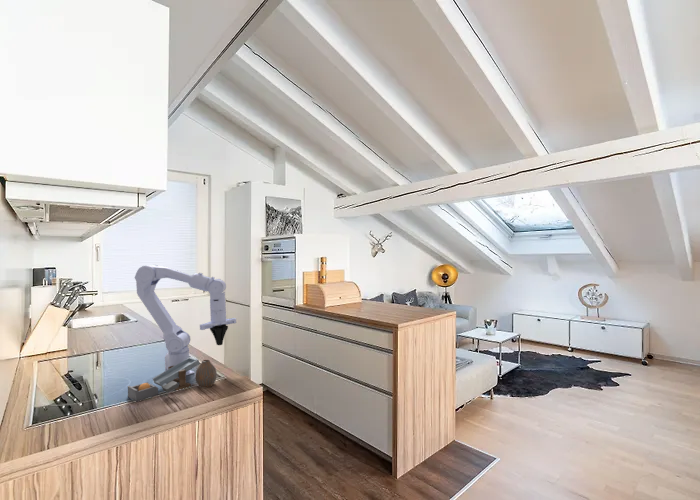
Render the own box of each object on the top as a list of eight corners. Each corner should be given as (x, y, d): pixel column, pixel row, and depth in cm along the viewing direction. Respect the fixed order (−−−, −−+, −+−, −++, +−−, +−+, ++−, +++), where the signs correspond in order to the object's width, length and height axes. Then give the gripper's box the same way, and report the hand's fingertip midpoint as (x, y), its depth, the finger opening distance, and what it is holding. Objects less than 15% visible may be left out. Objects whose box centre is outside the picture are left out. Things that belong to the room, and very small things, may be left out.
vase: (212, 389, 121) (211, 363, 121) (192, 389, 122) (191, 363, 122) (220, 381, 128) (219, 357, 128) (201, 382, 128) (200, 357, 129)
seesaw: (150, 385, 122) (148, 380, 121) (191, 361, 133) (190, 356, 133) (168, 394, 113) (166, 388, 113) (211, 367, 125) (209, 362, 124)
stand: (163, 384, 127) (163, 367, 127) (177, 380, 131) (177, 363, 131) (176, 390, 121) (176, 373, 121) (191, 386, 125) (190, 369, 125)
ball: (149, 383, 121) (144, 394, 119) (140, 380, 118) (134, 391, 117) (154, 385, 118) (148, 396, 117) (144, 382, 116) (138, 393, 115)
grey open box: (128, 396, 117) (127, 386, 117) (149, 390, 122) (149, 380, 122) (136, 401, 113) (135, 390, 113) (158, 394, 118) (158, 384, 118)
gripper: (206, 314, 132) (207, 350, 132) (240, 308, 143) (241, 341, 143) (196, 312, 136) (197, 348, 136) (230, 306, 147) (231, 339, 147)
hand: (219, 344), depth 140 cm, fingers closed
